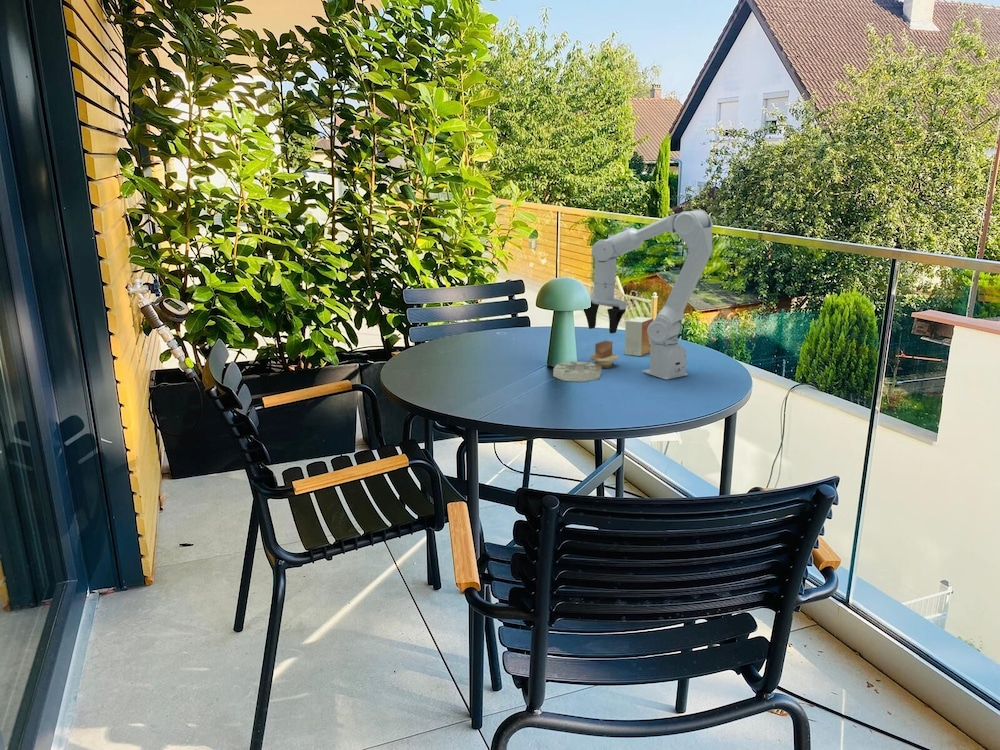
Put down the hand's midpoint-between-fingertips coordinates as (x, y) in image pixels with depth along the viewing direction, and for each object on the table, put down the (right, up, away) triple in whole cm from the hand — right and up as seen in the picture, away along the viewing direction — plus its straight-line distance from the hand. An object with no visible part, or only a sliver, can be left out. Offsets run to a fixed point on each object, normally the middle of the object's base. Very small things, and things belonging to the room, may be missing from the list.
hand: (602, 330), depth 200 cm
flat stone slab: (-8, -13, -7) cm, 16 cm away
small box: (+13, -6, +16) cm, 21 cm away
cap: (+1, -10, +2) cm, 10 cm away
